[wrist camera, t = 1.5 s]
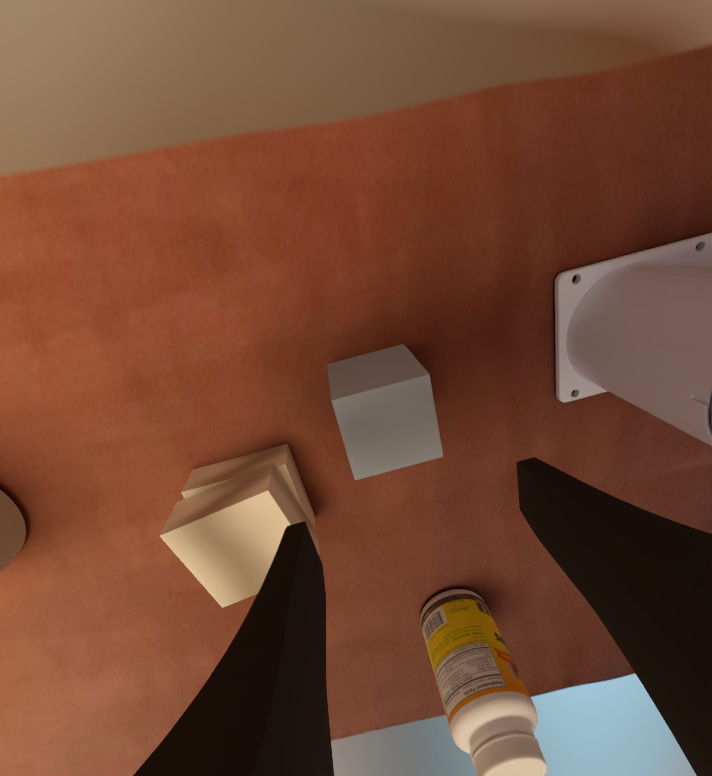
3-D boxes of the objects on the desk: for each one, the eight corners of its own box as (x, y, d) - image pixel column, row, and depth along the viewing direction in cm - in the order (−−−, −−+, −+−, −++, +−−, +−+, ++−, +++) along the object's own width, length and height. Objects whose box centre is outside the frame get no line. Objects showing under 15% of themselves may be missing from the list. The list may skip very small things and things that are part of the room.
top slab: (273, 461, 20) (268, 490, 18) (318, 534, 23) (319, 568, 20) (176, 502, 21) (159, 535, 18) (231, 570, 23) (222, 607, 21)
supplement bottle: (484, 623, 31) (557, 790, 22) (420, 637, 31) (468, 811, 22) (483, 578, 29) (565, 742, 20) (415, 592, 29) (465, 764, 20)
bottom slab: (287, 440, 23) (285, 463, 20) (314, 512, 25) (315, 540, 23) (194, 466, 23) (181, 492, 20) (230, 536, 25) (222, 566, 23)
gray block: (403, 343, 21) (429, 374, 16) (416, 411, 23) (443, 456, 18) (326, 363, 21) (331, 400, 16) (345, 430, 23) (354, 480, 18)
